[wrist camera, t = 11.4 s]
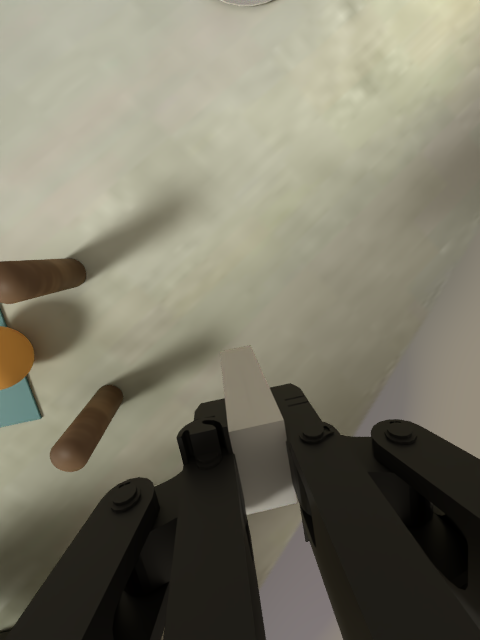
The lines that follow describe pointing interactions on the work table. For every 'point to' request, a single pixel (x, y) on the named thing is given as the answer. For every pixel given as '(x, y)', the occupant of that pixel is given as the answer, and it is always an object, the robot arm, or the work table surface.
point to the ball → (14, 357)
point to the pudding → (245, 2)
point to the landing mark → (17, 401)
